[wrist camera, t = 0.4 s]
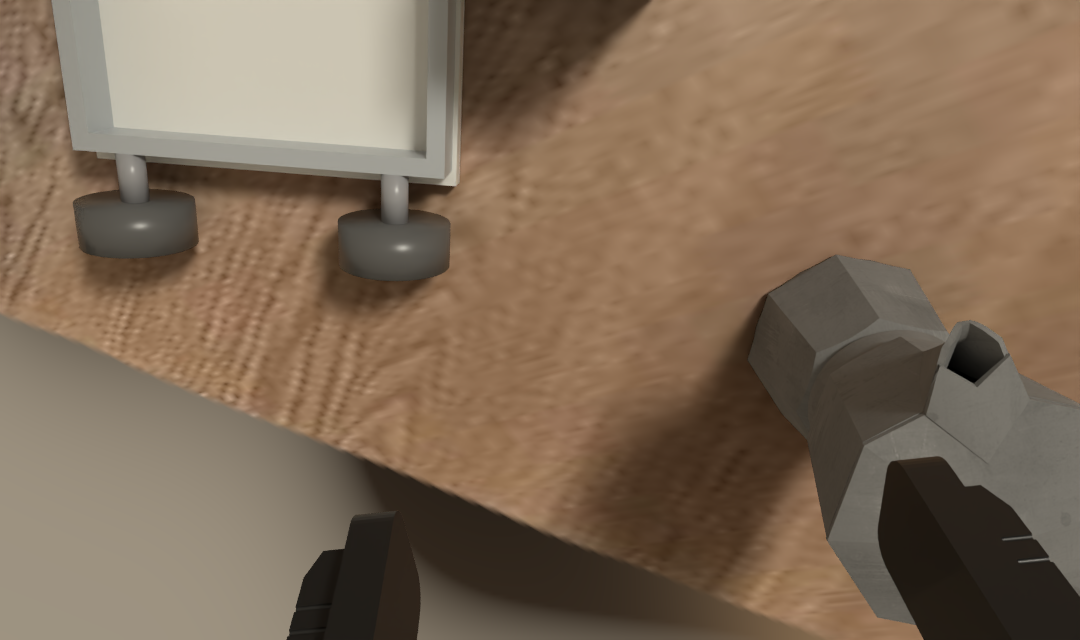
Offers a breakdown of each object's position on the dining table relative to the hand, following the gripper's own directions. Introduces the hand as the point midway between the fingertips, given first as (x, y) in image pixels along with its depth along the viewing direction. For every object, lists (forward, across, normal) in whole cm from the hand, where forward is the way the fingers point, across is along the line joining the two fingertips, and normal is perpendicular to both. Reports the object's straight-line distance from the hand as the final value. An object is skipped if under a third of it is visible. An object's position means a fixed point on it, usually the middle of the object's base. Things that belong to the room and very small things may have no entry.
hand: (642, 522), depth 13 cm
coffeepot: (+23, -13, +14) cm, 30 cm away
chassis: (+28, +12, -4) cm, 31 cm away
